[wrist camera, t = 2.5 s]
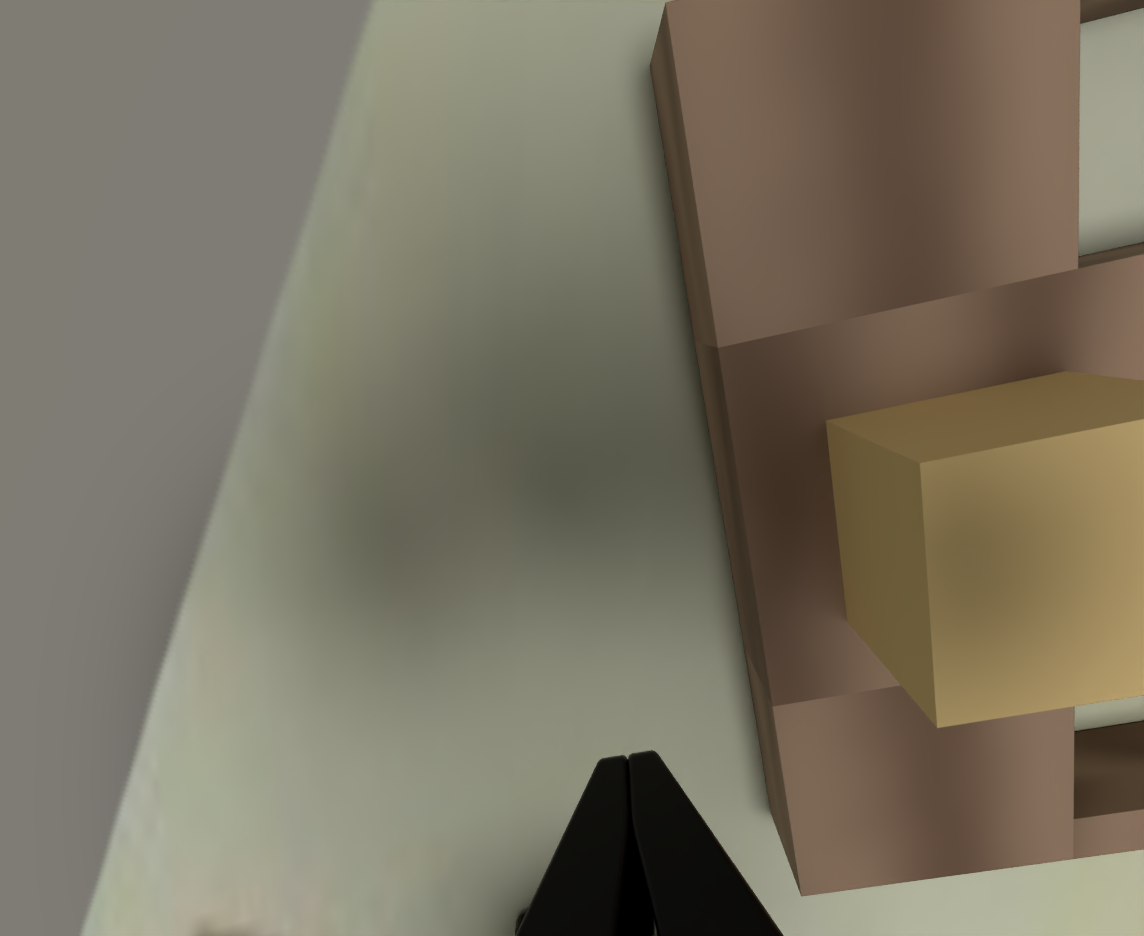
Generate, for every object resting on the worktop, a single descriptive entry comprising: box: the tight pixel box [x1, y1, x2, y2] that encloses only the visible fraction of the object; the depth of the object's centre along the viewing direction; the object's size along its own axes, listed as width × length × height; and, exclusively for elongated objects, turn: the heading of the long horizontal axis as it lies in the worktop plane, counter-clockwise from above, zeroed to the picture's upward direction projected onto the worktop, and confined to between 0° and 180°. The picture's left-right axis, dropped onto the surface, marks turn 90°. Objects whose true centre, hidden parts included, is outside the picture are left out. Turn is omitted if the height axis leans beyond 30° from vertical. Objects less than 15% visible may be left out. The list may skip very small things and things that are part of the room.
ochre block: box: [826, 371, 1144, 728], centre depth 12 cm, size 6×6×4 cm
